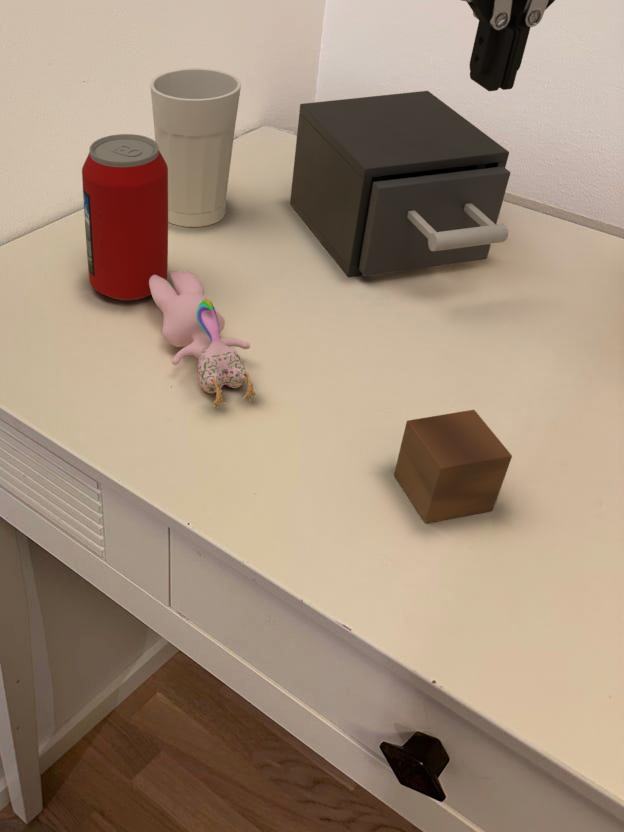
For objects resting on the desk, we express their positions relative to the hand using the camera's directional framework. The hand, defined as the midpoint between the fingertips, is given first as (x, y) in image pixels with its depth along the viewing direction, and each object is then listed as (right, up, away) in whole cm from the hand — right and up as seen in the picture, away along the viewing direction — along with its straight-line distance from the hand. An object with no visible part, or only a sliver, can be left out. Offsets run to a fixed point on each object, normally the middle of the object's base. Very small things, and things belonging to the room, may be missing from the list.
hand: (490, 83), depth 63 cm
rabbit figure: (-20, -18, +6) cm, 28 cm away
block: (-5, -29, -6) cm, 30 cm away
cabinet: (-2, -5, +20) cm, 21 cm away
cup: (-20, -2, +24) cm, 31 cm away
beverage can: (-26, -12, +14) cm, 31 cm away
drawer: (-1, -7, +16) cm, 18 cm away
